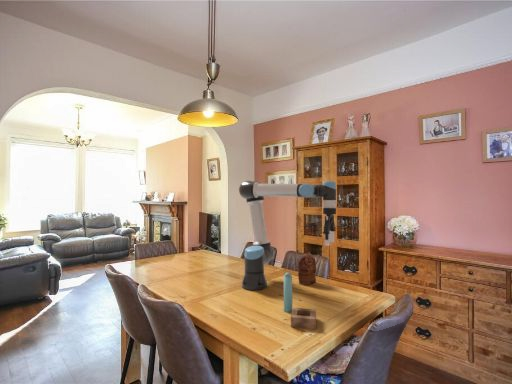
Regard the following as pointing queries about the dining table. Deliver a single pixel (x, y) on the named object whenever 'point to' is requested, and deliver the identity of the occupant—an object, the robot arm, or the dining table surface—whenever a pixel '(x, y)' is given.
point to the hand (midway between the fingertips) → (329, 243)
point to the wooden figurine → (307, 270)
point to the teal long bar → (287, 292)
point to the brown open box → (303, 318)
